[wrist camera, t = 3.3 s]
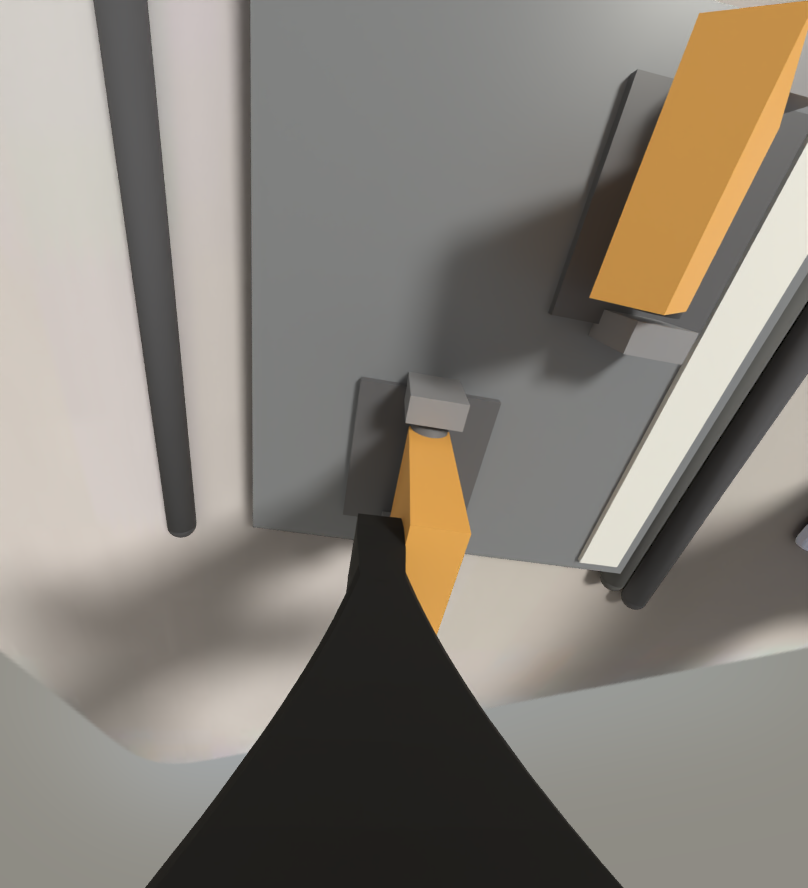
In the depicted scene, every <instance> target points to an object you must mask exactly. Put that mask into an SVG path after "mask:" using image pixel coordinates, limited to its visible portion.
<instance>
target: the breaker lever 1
mask: <svg viewBox="0 0 808 888" xmlns="http://www.w3.org/2000/svg"><path fill="white" fill-rule="evenodd" d="M390 517H396V518H402V523H403V527H404V534H405V546H406V574H407V576H408V579H409V581H410V583H411V585H412V587H413V590H414V592H415V594H416V596H417V598H418V600H419V602H420V604H421V606H422V608H423V611H424V612H425V614H426V616H427V618H428V620H429V622H430V624H431V626H432V628H433V630H434V631H435V633H436V635H437V632H438V630H439V627H440V624H441V621H442V618H443V615H444V612H445V609H446V606H447V603H448V600H449V598H450V595H451V592H452V589H453V586H454V583H455V580H456V577H457V574H458V571H459V569H460V566H461V563H462V560H463V557H464V554H465V551H466V548H467V545H468V542H469V539H470V537H471V530H470V525H469V521H468V516H467V512H466V507H465V503H464V498H463V493H462V489H461V484H460V480H459V475H458V471H457V466H456V461H455V457H454V452H453V448H452V443H451V439H450V434H449V432H448V430H447V429H440V428H434V427H428V426H421V425H415V424H411V426H409V429H408V434H407V438H406V443H405V448H404V453H403V458H402V462H401V467H400V472H399V477H398V481H397V486H396V491H395V496H394V501H393V505H392V510H391V515H390Z"/></svg>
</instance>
